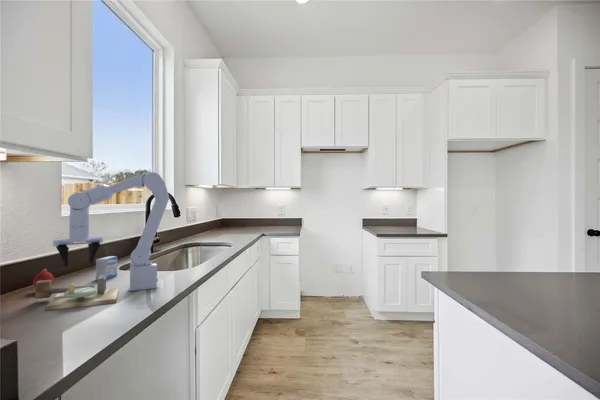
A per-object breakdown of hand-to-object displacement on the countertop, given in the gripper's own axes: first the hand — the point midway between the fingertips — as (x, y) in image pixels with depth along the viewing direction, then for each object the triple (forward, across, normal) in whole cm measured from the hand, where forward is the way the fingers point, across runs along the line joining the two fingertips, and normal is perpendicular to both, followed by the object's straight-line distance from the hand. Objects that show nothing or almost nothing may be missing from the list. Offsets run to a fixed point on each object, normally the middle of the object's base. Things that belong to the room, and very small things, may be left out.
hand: (78, 264), depth 112 cm
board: (+10, -1, -12) cm, 16 cm away
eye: (+9, +4, -11) cm, 14 cm away
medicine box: (+10, +15, +16) cm, 24 cm away
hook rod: (+8, -5, -6) cm, 12 cm away
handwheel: (+8, -3, -15) cm, 17 cm away
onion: (+10, -8, +10) cm, 16 cm away
